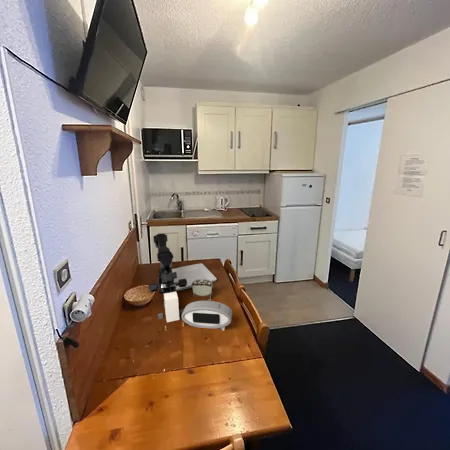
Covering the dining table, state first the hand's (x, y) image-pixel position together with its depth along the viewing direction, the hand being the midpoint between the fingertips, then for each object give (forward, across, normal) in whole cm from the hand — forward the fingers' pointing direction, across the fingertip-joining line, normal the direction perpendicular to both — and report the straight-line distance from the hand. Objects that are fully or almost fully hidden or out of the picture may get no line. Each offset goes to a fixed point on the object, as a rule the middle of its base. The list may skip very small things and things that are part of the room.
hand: (170, 302), depth 125 cm
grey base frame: (+7, 0, +4) cm, 8 cm away
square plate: (-19, +16, +31) cm, 40 cm away
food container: (-3, +20, +14) cm, 24 cm away
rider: (+7, 0, +2) cm, 7 cm away
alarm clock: (+16, +15, -4) cm, 22 cm away
